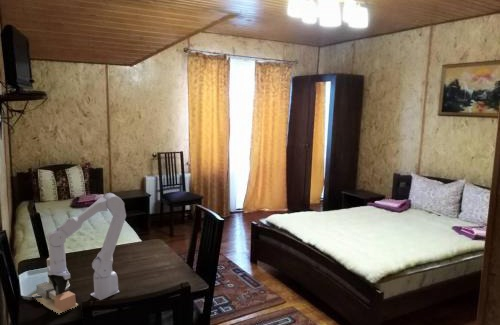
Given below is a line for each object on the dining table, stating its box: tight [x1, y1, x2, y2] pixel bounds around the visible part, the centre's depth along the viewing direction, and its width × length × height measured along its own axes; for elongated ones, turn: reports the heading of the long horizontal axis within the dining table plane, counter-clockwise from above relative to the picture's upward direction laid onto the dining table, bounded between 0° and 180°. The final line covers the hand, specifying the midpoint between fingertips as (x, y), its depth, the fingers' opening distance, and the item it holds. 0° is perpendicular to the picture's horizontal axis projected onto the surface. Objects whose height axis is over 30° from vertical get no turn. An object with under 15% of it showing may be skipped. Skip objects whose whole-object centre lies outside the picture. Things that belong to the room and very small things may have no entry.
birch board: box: [31, 293, 79, 315], centre depth 158 cm, size 8×23×1 cm, turn 54°
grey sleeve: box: [36, 281, 54, 300], centre depth 161 cm, size 4×8×4 cm, turn 54°
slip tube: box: [47, 284, 64, 300], centre depth 156 cm, size 2×15×7 cm, turn 53°
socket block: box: [54, 290, 77, 311], centre depth 152 cm, size 6×5×5 cm
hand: (59, 291), depth 154 cm, fingers open, 3 cm apart
